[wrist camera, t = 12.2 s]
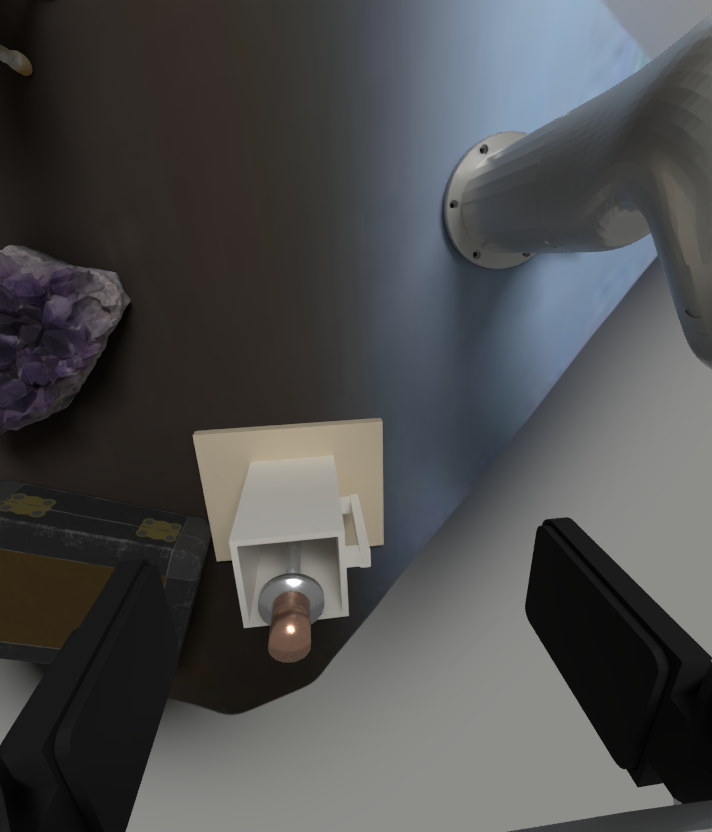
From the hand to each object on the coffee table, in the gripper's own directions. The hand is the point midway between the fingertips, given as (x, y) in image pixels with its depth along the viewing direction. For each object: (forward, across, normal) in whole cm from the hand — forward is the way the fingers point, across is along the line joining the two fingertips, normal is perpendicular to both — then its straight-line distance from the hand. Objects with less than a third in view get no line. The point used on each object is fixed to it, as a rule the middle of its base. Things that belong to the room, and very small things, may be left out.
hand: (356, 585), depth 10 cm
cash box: (+39, +30, +28) cm, 57 cm away
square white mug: (+38, +4, +20) cm, 43 cm away
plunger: (+36, +4, +20) cm, 41 cm away
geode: (+39, +27, 0) cm, 47 cm away
